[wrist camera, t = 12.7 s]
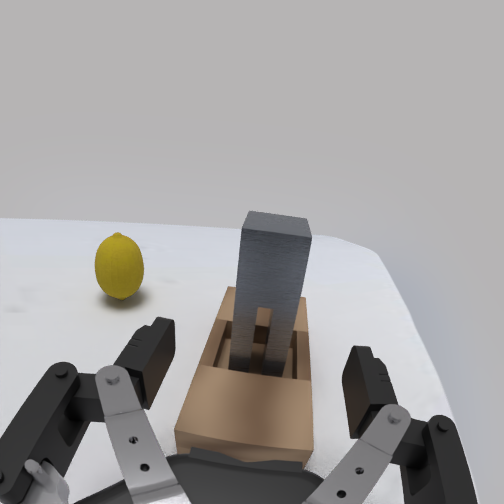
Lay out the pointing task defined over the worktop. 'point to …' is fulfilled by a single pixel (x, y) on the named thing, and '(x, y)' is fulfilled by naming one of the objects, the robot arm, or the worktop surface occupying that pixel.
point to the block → (268, 287)
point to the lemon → (119, 266)
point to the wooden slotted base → (250, 397)
